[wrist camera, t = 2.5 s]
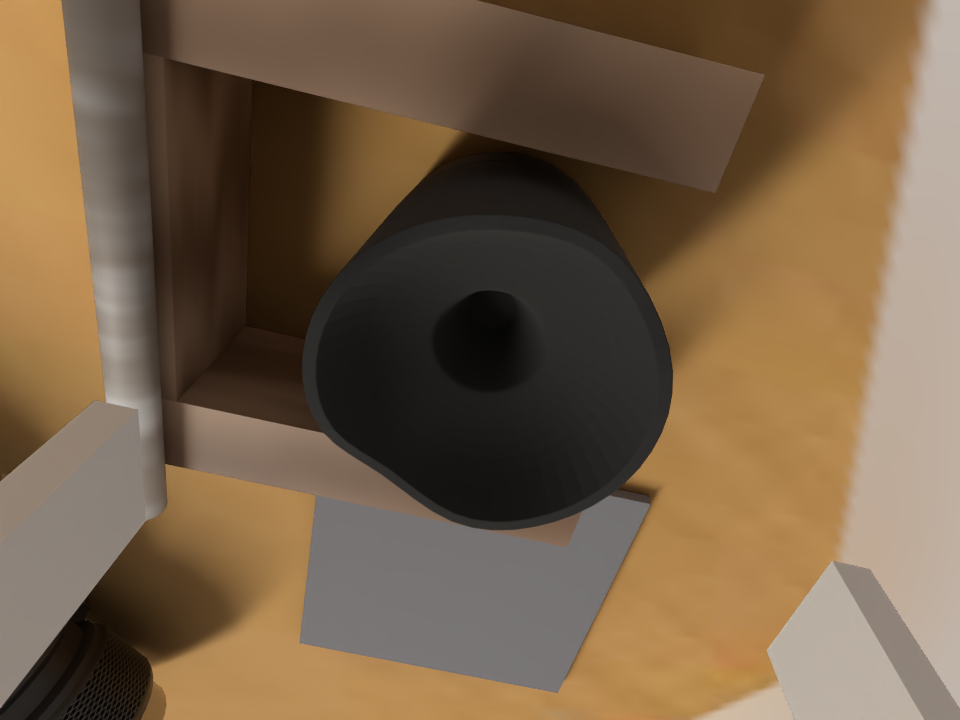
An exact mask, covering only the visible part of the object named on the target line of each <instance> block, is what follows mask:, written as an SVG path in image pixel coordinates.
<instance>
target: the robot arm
mask: <svg viewBox="0 0 960 720" xmlns="http://www.w3.org/2000/svg"><path fill="white" fill-rule="evenodd" d="M145 521H146V512H145V498H144V484H143V470H142V456H141V442H140V427H139V413H138V409H133V408H129V407H124V406H120V405H115V404H110V403H106V402H101V401H97V400H95V401H94V402H92V403H91V404H90V405H89V406H88V407H87V408H85V409H84V410H83V411H82V412H81V413H80V414H78V415H77V416H76V417H75V418H74V419H73V420H71V421H70V422H69V423H68V424H67V425H66V426H64V427H63V428H62V429H61V430H60V431H59V432H57V433H56V434H55V435H54V436H53V437H52V438H50V439H49V440H48V441H47V442H46V443H45V444H43V445H42V446H41V447H40V448H39V449H38V450H36V451H35V452H34V453H33V454H32V455H30V456H29V457H28V458H27V459H26V460H25V461H23V462H22V463H21V464H20V465H19V466H18V467H16V468H15V469H14V470H13V471H12V472H11V473H9V474H8V475H7V476H6V477H5V478H4V479H2V480H1V481H0V708H1V707H2V705H3V704H4V703H5V702H6V700H7V699H8V698H9V696H10V695H11V694H12V693H13V691H14V690H15V689H16V687H17V686H18V685H19V684H20V682H21V681H22V680H23V678H24V677H25V676H26V675H27V673H28V672H29V671H30V669H31V668H32V667H33V666H34V664H35V663H36V662H37V660H38V659H39V658H40V656H41V655H42V654H43V653H44V651H45V650H46V649H47V647H48V646H49V645H50V644H51V642H52V641H53V640H54V638H55V637H56V636H57V635H58V633H59V632H60V631H61V629H62V628H63V627H64V626H65V624H66V623H67V622H68V620H69V619H70V618H71V617H72V615H73V614H74V613H75V611H76V610H77V609H78V608H79V606H80V605H81V604H82V602H83V601H84V600H85V599H86V597H87V596H88V595H89V593H90V592H91V591H92V590H93V588H94V587H95V586H96V584H97V583H98V582H99V581H100V579H101V578H102V577H103V575H104V574H105V573H106V572H107V570H108V569H109V568H110V566H111V565H112V564H113V562H114V561H115V560H116V559H117V557H118V556H119V555H120V553H121V552H122V551H123V550H124V548H125V547H126V546H127V544H128V543H129V542H130V541H131V539H132V538H133V537H134V535H135V534H136V533H137V532H138V530H139V529H140V528H141V526H142V525H143V524H144V523H145ZM767 653H768V655H769V658H770V660H771V663H772V665H773V668H774V671H775V673H776V676H777V678H778V681H779V683H780V686H781V688H782V691H783V693H784V696H785V699H786V701H787V704H788V706H789V709H790V711H791V714H792V717H793V719H794V720H960V708H959V707H958V705H957V704H956V702H955V701H954V699H953V697H952V696H951V694H950V693H949V691H948V690H947V689H946V687H945V685H944V684H943V682H942V680H941V679H940V677H939V676H938V675H937V673H936V671H935V670H934V668H933V666H932V665H931V664H930V662H929V660H928V659H927V657H926V655H925V654H924V653H923V651H922V649H921V648H920V646H919V645H918V643H917V641H916V640H915V639H914V637H913V635H912V634H911V632H910V631H909V629H908V627H907V626H906V624H905V623H904V621H903V620H902V618H901V617H900V615H899V614H898V612H897V610H896V609H895V607H894V606H893V604H892V603H891V601H890V599H889V598H888V596H887V595H886V593H885V592H884V590H883V589H882V587H881V586H880V584H879V582H878V581H877V579H876V578H875V576H874V575H873V573H872V571H871V570H870V569H866V568H862V567H857V566H853V565H849V564H844V563H839V562H835V561H831V563H830V564H829V566H828V567H827V568H826V570H825V571H824V572H823V574H822V575H821V577H820V578H819V579H818V581H817V582H816V583H815V585H814V586H813V587H812V589H811V590H810V592H809V593H808V594H807V596H806V597H805V598H804V600H803V601H802V603H801V604H800V605H799V607H798V608H797V609H796V611H795V612H794V614H793V615H792V616H791V618H790V619H789V620H788V622H787V623H786V624H785V626H784V627H783V629H782V630H781V631H780V633H779V634H778V635H777V637H776V638H775V640H774V641H773V642H772V644H771V645H770V646H769V648H768V649H767Z"/></svg>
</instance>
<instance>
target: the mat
mask: <svg viewBox="0 0 960 720" xmlns="http://www.w3.org/2000/svg"><path fill="white" fill-rule="evenodd" d="M650 505H651V504H650V500H649V496H647V495H643V494H638V493H633V492H629V491H624V490H619V489H617V490H616V491H614V492H613V493H612V494H611V495H609V496H608V497H606V498H605V499H603V500H601V501H600V502H598V503H597V504H595V505H594V506H592V507H590V508H588V509H586V510H584V511H582V513H581V516H580V518H579V520H578V523H577V525H576V527H575V530H574V532H573V535H572V537H571V539H570V542H569V544H568V547H563V546H558V545H553V544H548V543H544V542H539V541H534V540H529V539H524V538H520V537H515V536H510V535H505V534H500V533H496V532H491V531H486V530H481V529H476V528H471V527H467V526H462V525H457V524H452V523H447V522H443V521H438V520H433V519H428V518H423V517H419V516H414V515H409V514H404V513H399V512H395V511H390V510H385V509H380V508H375V507H370V506H366V505H361V504H356V503H351V502H346V501H342V500H337V499H332V498H327V497H322V496H318V495H316V503H315V512H314V521H313V530H312V538H311V547H310V556H309V565H308V574H307V583H306V591H305V600H304V609H303V618H302V627H301V636H300V643H302V644H307V645H312V646H317V647H323V648H328V649H333V650H338V651H343V652H348V653H354V654H359V655H364V656H369V657H374V658H379V659H385V660H390V661H395V662H400V663H405V664H410V665H416V666H421V667H426V668H431V669H436V670H441V671H447V672H452V673H457V674H462V675H467V676H472V677H478V678H483V679H488V680H493V681H498V682H503V683H509V684H514V685H519V686H524V687H529V688H534V689H540V690H545V691H550V692H555V693H558V691H559V689H560V687H561V685H562V683H563V681H564V679H565V677H566V675H567V673H568V671H569V669H570V667H571V665H572V663H573V661H574V659H575V657H576V655H577V653H578V651H579V649H580V647H581V645H582V643H583V641H584V638H585V636H586V634H587V632H588V630H589V628H590V626H591V624H592V622H593V620H594V618H595V616H596V614H597V612H598V610H599V608H600V606H601V604H602V602H603V600H604V598H605V596H606V594H607V592H608V590H609V588H610V586H611V584H612V582H613V580H614V578H615V576H616V574H617V572H618V570H619V568H620V565H621V563H622V561H623V559H624V557H625V555H626V553H627V551H628V549H629V547H630V545H631V543H632V541H633V539H634V537H635V535H636V533H637V531H638V529H639V527H640V525H641V523H642V521H643V519H644V517H645V515H646V513H647V511H648V509H649V507H650Z"/></svg>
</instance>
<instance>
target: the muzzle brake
mask: <svg viewBox="0 0 960 720" xmlns="http://www.w3.org/2000/svg"><path fill="white" fill-rule="evenodd" d="M89 608H90V607H89V606H88V605H87V604H85V603H84V602H82V604H81V605H80V606H79V608H78V609H77V610H76V611H75V613H74V614H73V615H72V617H71V618H70V619H69V620H68V622H67V623H66V624H65V626H64V627H63V628H62V629H61V631H60V632H59V633H58V635H57V636H56V637H55V638H54V640H53V641H52V642H51V644H50V645H49V646H48V647H47V649H46V650H45V651H44V653H43V654H42V655H41V656H40V658H39V659H38V660H37V662H36V663H35V664H34V666H33V667H32V668H31V669H30V671H29V672H28V673H27V675H26V676H25V677H24V678H23V680H22V681H21V682H20V684H19V685H18V686H17V687H16V689H15V690H14V691H13V693H12V694H11V695H10V696H9V698H8V699H7V700H6V702H5V703H4V704H3V705H2V707H1V708H0V720H163V718H164V715H165V709H166V696H165V693H164V691H163V689H162V688H161V687H160V686H159V685H157V684H156V683H155V682H153V673H152V668H151V665H150V663H149V662H148V660H147V658H146V657H145V656H143V655H142V654H141V653H139V652H138V651H137V650H136V649H134V648H133V647H132V646H130V645H129V644H128V643H127V642H125V641H124V640H123V639H122V638H120V637H119V636H118V635H116V634H115V633H114V632H113V631H111V630H110V629H109V628H108V627H106V626H105V625H103V624H101V623H92V622H90V621H88V620H87V621H85V619H86V616H87V613H88V611H89Z"/></svg>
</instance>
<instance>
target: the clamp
mask: <svg viewBox="0 0 960 720" xmlns="http://www.w3.org/2000/svg"><path fill="white" fill-rule="evenodd" d="M61 1H62V10H63V19H64V28H65V37H66V46H67V55H68V64H69V73H70V82H71V91H72V100H73V109H74V118H75V127H76V136H77V145H78V154H79V163H80V172H81V181H82V190H83V199H84V208H85V217H86V226H87V235H88V244H89V253H90V261H91V270H92V279H93V288H94V297H95V306H96V315H97V324H98V333H99V342H100V351H101V360H102V369H103V378H104V387H105V396H106V403H110V404H115V405H120V406H124V407H129V408H133V409H138V413H139V427H140V442H141V456H142V470H143V484H144V498H145V512H146V520H150V519H152V518H155V517H157V516H158V515H160V514H161V513H162V512H163V511H164V510H165V508H166V506H167V489H166V471H165V464H168V465H173V466H178V467H183V468H188V469H192V470H197V471H202V472H207V473H212V474H217V475H221V476H226V477H231V478H236V479H241V480H245V481H250V482H255V483H260V484H265V485H269V486H274V487H279V488H284V489H289V490H293V491H298V492H303V493H308V494H313V495H318V496H322V497H327V498H332V499H337V500H342V501H346V502H351V503H356V504H361V505H366V506H370V507H375V508H380V509H385V510H390V511H395V512H399V513H404V514H409V515H414V516H419V517H423V518H428V519H433V520H438V521H443V522H447V523H452V524H457V525H461V524H458V523H455V522H452V521H450V520H448V519H446V518H444V517H442V516H440V515H438V514H436V513H434V512H432V511H431V510H430V509H428V508H427V507H425V506H424V505H422V504H421V503H419V502H418V501H416V500H415V499H413V498H412V497H411V496H409V495H408V494H407V493H405V492H404V491H403V490H401V489H400V488H399V487H397V486H396V485H395V484H393V483H392V482H391V481H389V480H388V479H387V478H385V477H384V476H383V475H381V474H380V473H378V472H377V471H375V470H373V469H372V468H370V467H369V466H367V465H366V464H364V463H362V462H361V461H359V460H357V459H356V458H354V457H353V456H351V455H350V454H348V453H347V452H345V451H344V450H342V449H341V448H340V447H338V446H337V445H335V444H334V443H333V442H332V441H331V440H330V439H329V438H328V437H327V436H326V435H325V434H324V433H323V432H322V430H321V429H320V427H319V426H318V424H317V422H316V421H315V419H314V418H313V416H312V413H311V411H310V408H309V405H308V402H307V400H306V396H305V390H304V384H303V376H302V357H303V350H304V344H305V339H302V338H297V337H293V336H288V335H284V334H279V333H275V332H271V331H266V330H262V329H257V328H253V327H248V326H246V298H247V263H248V227H249V192H250V157H251V122H252V87H253V80H256V81H260V82H264V83H269V84H273V85H277V86H281V87H285V88H289V89H293V90H297V91H301V92H305V93H309V94H313V95H317V96H321V97H326V98H330V99H334V100H338V101H342V102H346V103H350V104H354V105H358V106H362V107H366V108H370V109H374V110H378V111H382V112H387V113H391V114H395V115H399V116H403V117H407V118H411V119H415V120H419V121H423V122H427V123H431V124H435V125H439V126H444V127H448V128H452V129H456V130H460V131H464V132H468V133H472V134H476V135H480V136H484V137H488V138H492V139H496V140H501V141H505V142H509V143H513V144H517V145H521V146H525V147H529V148H533V149H537V150H541V151H545V152H549V153H553V154H557V155H562V156H566V157H570V158H574V159H578V160H582V161H586V162H590V163H594V164H598V165H602V166H606V167H610V168H614V169H619V170H623V171H627V172H631V173H635V174H639V175H643V176H647V177H651V178H655V179H659V180H663V181H667V182H671V183H676V184H680V185H684V186H688V187H692V188H696V189H700V190H704V191H708V192H712V193H716V191H717V188H718V186H719V184H720V181H721V179H722V177H723V174H724V172H725V169H726V167H727V165H728V162H729V160H730V157H731V155H732V153H733V150H734V148H735V146H736V143H737V141H738V138H739V136H740V134H741V131H742V129H743V126H744V124H745V122H746V119H747V117H748V114H749V112H750V110H751V107H752V105H753V103H754V100H755V98H756V95H757V93H758V91H759V88H760V86H761V83H762V81H763V79H764V76H765V75H764V74H760V73H757V72H753V71H749V70H745V69H741V68H737V67H733V66H730V65H726V64H722V63H718V62H714V61H710V60H706V59H702V58H699V57H695V56H691V55H687V54H683V53H679V52H675V51H672V50H668V49H664V48H660V47H656V46H652V45H648V44H644V43H641V42H637V41H633V40H629V39H625V38H621V37H617V36H614V35H610V34H606V33H602V32H598V31H594V30H590V29H586V28H583V27H579V26H575V25H571V24H567V23H563V22H559V21H556V20H552V19H548V18H544V17H540V16H536V15H532V14H528V13H525V12H521V11H517V10H513V9H509V8H505V7H501V6H498V5H494V4H490V3H486V2H482V1H478V0H61ZM581 513H582V511H581V512H579V513H577V514H575V515H573V516H570V517H567V518H565V519H562V520H559V521H556V522H553V523H549V524H545V525H541V526H537V527H531V528H524V529H517V530H486V529H481V530H486V531H491V532H496V533H500V534H505V535H510V536H515V537H520V538H524V539H529V540H534V541H539V542H544V543H548V544H553V545H558V546H563V547H568V544H569V542H570V539H571V537H572V535H573V532H574V530H575V527H576V525H577V523H578V520H579V518H580V516H581ZM462 526H465V525H462ZM467 527H468V526H467ZM476 529H478V528H476Z"/></svg>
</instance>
